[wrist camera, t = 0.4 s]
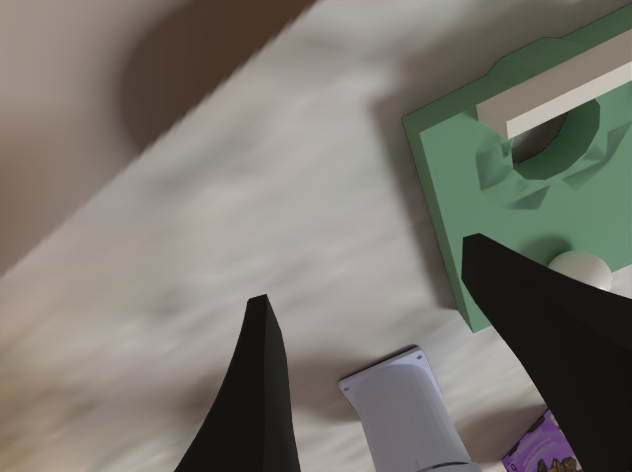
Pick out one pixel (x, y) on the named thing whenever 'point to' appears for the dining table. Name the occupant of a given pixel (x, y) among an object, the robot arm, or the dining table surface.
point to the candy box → (542, 450)
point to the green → (541, 170)
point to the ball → (583, 268)
